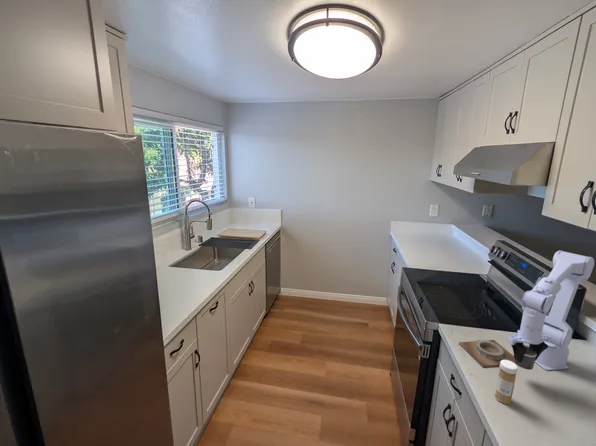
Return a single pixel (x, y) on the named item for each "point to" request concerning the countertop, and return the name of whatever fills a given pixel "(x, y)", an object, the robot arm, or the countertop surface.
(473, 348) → the mount board
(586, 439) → the countertop surface
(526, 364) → the lens
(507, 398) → the sprinkles bottle
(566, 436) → the countertop surface
